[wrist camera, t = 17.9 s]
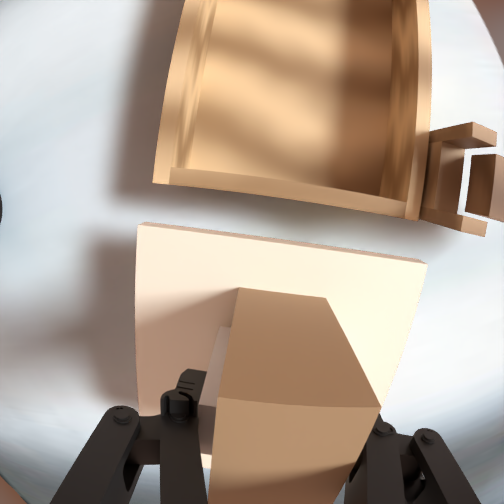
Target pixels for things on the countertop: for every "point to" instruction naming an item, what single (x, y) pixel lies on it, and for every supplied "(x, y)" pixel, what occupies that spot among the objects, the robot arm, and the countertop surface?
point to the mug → (0, 209)
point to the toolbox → (313, 108)
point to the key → (486, 187)
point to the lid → (274, 351)
